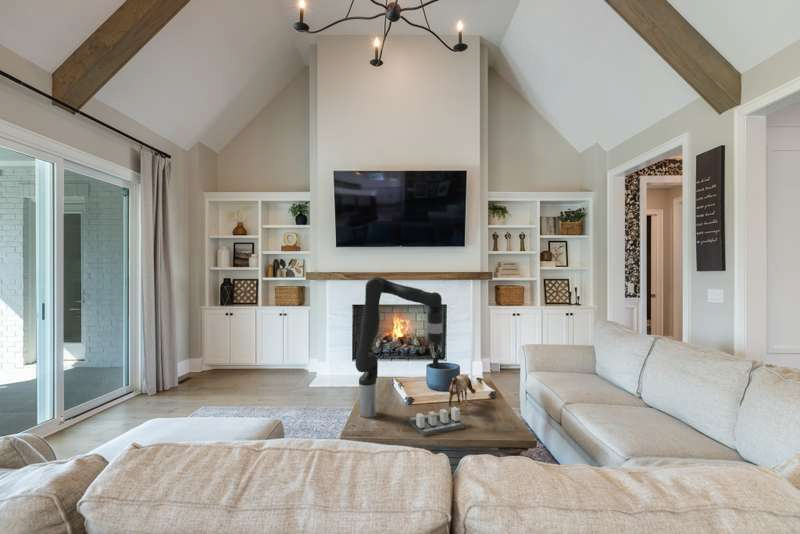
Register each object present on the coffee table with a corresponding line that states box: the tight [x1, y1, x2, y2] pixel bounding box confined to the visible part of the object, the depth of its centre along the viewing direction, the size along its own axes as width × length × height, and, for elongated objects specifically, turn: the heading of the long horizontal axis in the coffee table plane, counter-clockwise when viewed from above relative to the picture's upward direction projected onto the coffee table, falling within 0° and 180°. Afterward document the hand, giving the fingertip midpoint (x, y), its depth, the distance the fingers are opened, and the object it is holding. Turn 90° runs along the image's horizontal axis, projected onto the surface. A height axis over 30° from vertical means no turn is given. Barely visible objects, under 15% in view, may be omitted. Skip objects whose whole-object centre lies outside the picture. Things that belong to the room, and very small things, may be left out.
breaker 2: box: [427, 410, 437, 426], centre depth 200 cm, size 4×3×6 cm, turn 22°
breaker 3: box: [439, 408, 449, 423], centre depth 203 cm, size 4×2×6 cm, turn 22°
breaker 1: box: [415, 412, 425, 428], centre depth 198 cm, size 4×2×6 cm, turn 22°
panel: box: [407, 412, 465, 437], centre depth 204 cm, size 18×23×2 cm
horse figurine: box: [448, 374, 477, 414], centre depth 227 cm, size 31×8×21 cm, turn 149°
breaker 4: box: [451, 406, 461, 421], centre depth 205 cm, size 4×2×6 cm, turn 22°
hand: (435, 364), depth 209 cm, fingers closed
